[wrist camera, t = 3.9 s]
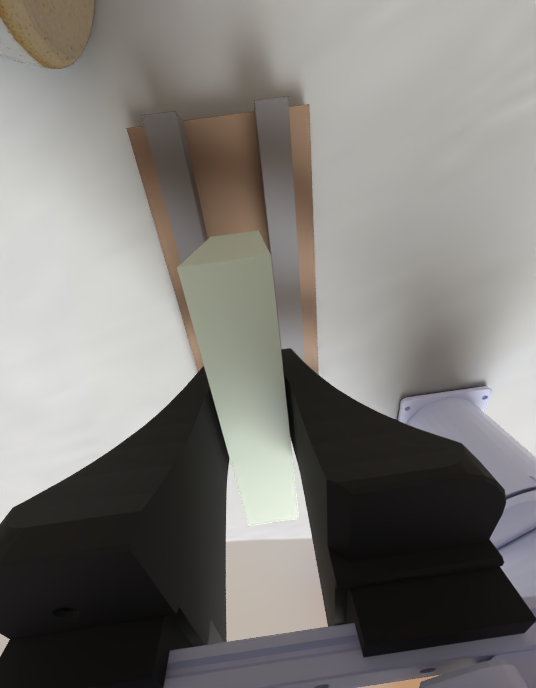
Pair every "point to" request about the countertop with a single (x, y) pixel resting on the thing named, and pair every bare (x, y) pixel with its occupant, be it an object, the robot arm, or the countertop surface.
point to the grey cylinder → (45, 30)
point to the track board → (237, 200)
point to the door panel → (244, 367)
